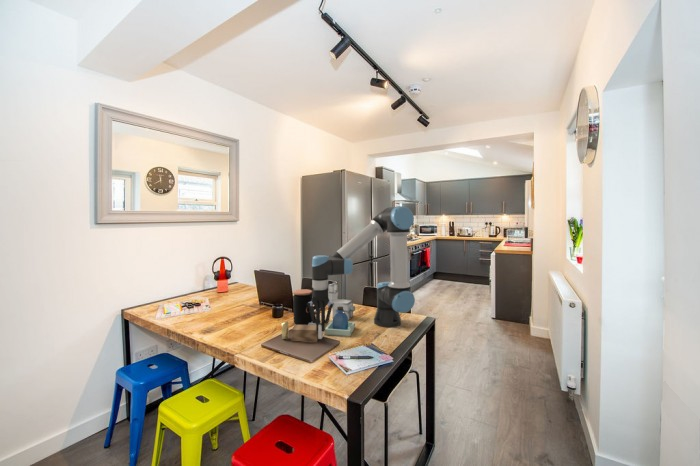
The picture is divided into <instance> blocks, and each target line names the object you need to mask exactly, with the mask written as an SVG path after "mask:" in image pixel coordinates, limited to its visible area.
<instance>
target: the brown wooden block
mask: <svg viewBox="0 0 700 466" xmlns="http://www.w3.org/2000/svg"><path fill="white" fill-rule="evenodd" d="M318 340H319V339H318V331H317V330H316V325H296V324H294V326H293V327H291V342H292V341H311V342H310V343H318Z"/></svg>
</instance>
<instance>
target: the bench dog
mask: <svg viewBox="0 0 700 466" xmlns="http://www.w3.org/2000/svg"><path fill="white" fill-rule="evenodd" d="M289 327H290V326H289V322H288V321H282V322H281V340H282V339H288V338H289V337H290V334H289V333H290V332H289ZM289 339H290V338H289ZM289 339H288V340H289Z"/></svg>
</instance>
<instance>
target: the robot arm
mask: <svg viewBox="0 0 700 466" xmlns="http://www.w3.org/2000/svg"><path fill="white" fill-rule="evenodd" d="M414 217H415V216H414V214H413V211H412V210H411V209H410V208H408V207H407V206H401V205H400V206H396V205H395V206H391V207H386V208H384V209H383V210H381V211H380V212H379V213H378V214H377V215H375V216H374V217H373V218H372V219H371V220H370V223H369V224H368V225H366V226H365V227H364V228H363V229H361V230H360V231H359V232H358V233H357V234H355V236H353V237H352V238H350V240H348V241H347V242H346V243H345V244H343V246H341V247H340V248H339V249H338V250H336V252H334V253H333V254H331V255H324V254H322V255H313V256H312V259H311V260H312V261H311V274H312V276H311V277H312V280H311V282H312V285H311V288H312V289H311V290H312V293H311V294H312V301H310V302H308V303H307V305H308V307H309V310H310V314H311V318H312V322H311V323H315V324H316V330H317V331H318V340H322V339H323V337H324V332H325V328H326V324H329V323H330V322H329V321H330V317H331V312H332V311H333V305H334V303H331V302H330V301H329V298H328V291H329V276H340V275H341V276H342V275H350V274H352V272H353V271H354V264H353V261H352V259H351V258H352V257H354V256H355V255H356V254H357V253H358V252H360V251H361V250H362V249H363V248H364V247H365V246H367V245H368V244H369V243H370V242H372V240H374V239H375V238H376V237H378V236H379V235H382V234H384V233H385V232H386V233H387V235H388V236H389V249H390V251H389V252H390V255H389V256H390V257H389V259H390V281H382V282H378V283H377V285H376V311H375V315H374V317H373V323H374V324H375V325H377V326H378V327H385V328H392V327H393V328H394V327H398V326H400V325H401V324H402V318H401V315H400V314H405V313H408V312H410V311H411V309H413V308H414V305H415V303H416V302H415V301H416V300H415V295H414V294H413V293H412V292H411V284H410V283H409V282H408V235H409V234H410V232H411V227H412V226H413V225H414V220H415V218H414ZM327 304H328V305H327ZM327 306H328V308H327V311H326V307H327ZM314 307H315V309H314ZM326 312H327V313H326Z"/></svg>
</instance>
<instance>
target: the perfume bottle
mask: <svg viewBox="0 0 700 466" xmlns="http://www.w3.org/2000/svg"><path fill="white" fill-rule="evenodd" d="M337 312H338V313H337V314H335V316H334V318H333V317H332V321H333V329H340V330H347V329H348V322H349V320H348V317H347V315H346V313H344V309H343V307H337Z"/></svg>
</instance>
